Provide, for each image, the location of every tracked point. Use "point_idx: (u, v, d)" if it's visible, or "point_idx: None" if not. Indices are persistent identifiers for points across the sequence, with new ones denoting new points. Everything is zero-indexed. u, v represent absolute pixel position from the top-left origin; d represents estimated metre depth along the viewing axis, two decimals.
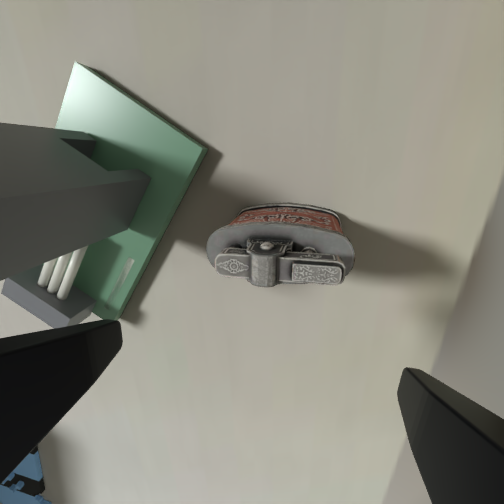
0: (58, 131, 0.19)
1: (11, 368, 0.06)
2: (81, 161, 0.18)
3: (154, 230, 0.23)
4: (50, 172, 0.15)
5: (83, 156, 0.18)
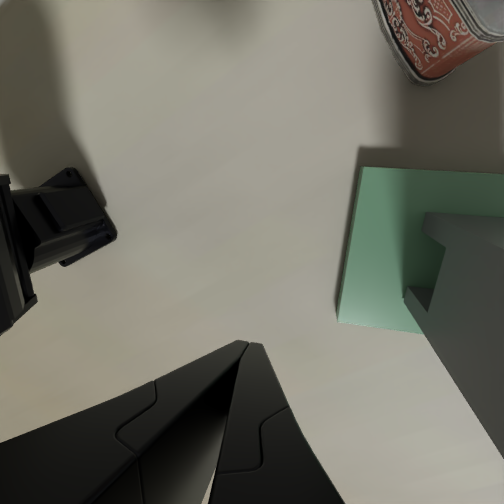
0: (418, 319, 0.17)
1: (204, 408, 0.05)
2: (448, 276, 0.14)
3: None
4: (494, 287, 0.11)
5: (439, 280, 0.15)
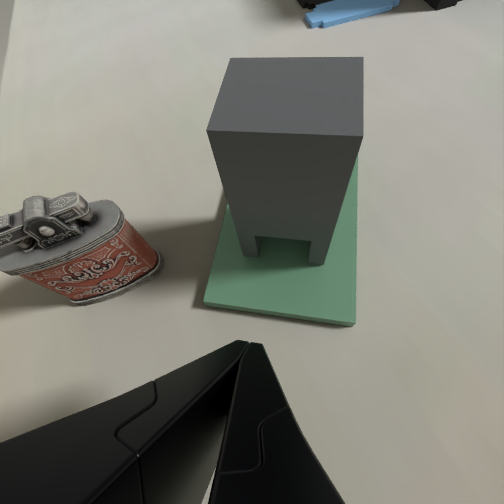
0: (324, 248, 0.19)
1: (204, 408, 0.05)
2: (271, 229, 0.18)
3: (229, 215, 0.24)
4: (251, 197, 0.15)
5: (279, 236, 0.19)
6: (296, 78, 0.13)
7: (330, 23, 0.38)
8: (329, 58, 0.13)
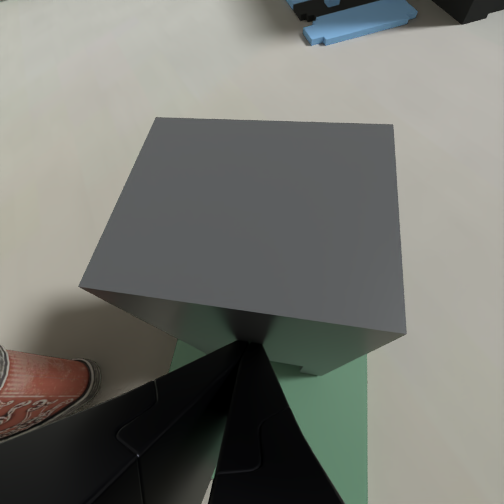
0: (321, 371, 0.13)
1: (204, 408, 0.05)
2: None
3: None
4: (201, 336, 0.09)
5: None
6: (267, 167, 0.07)
7: (333, 40, 0.31)
8: (328, 124, 0.07)
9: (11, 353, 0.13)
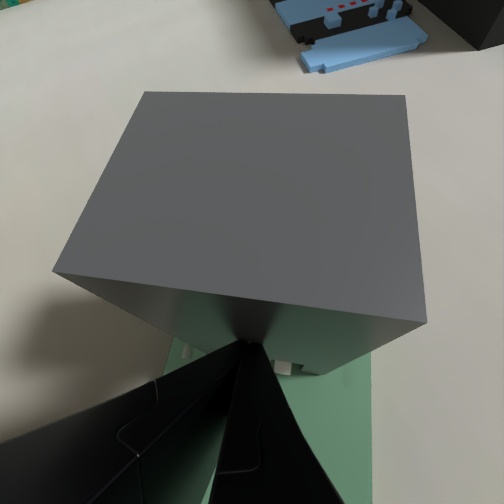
0: (324, 370, 0.12)
1: (204, 408, 0.05)
2: None
3: None
4: (195, 332, 0.09)
5: None
6: (265, 141, 0.06)
7: (334, 67, 0.28)
8: (333, 96, 0.06)
9: None
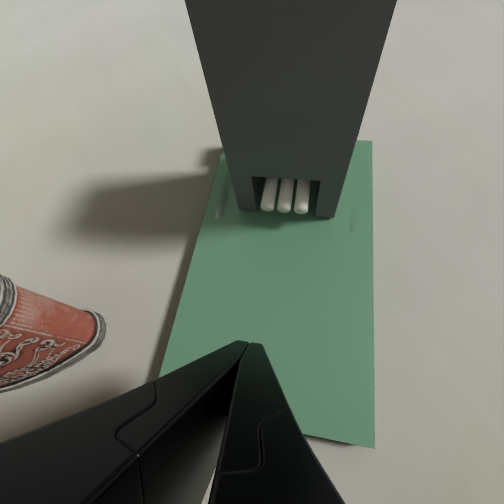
0: (335, 191, 0.16)
1: (204, 408, 0.05)
2: (271, 165, 0.15)
3: (196, 265, 0.18)
4: (245, 110, 0.12)
5: (282, 175, 0.15)
6: None
7: None
8: None
9: (18, 287, 0.13)
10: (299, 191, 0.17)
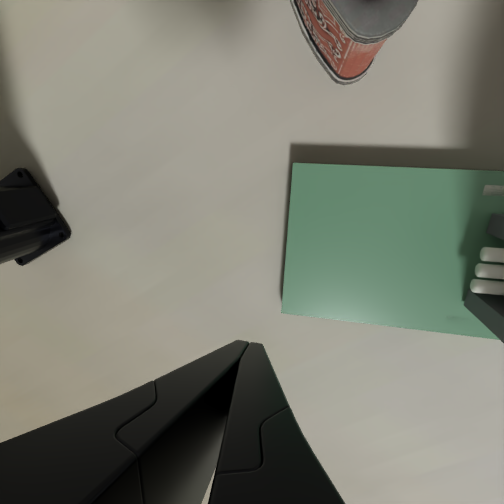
0: (488, 323, 0.16)
1: (204, 408, 0.05)
2: None
3: (421, 175, 0.17)
4: None
5: None
6: None
7: None
8: None
9: None
10: (499, 287, 0.16)
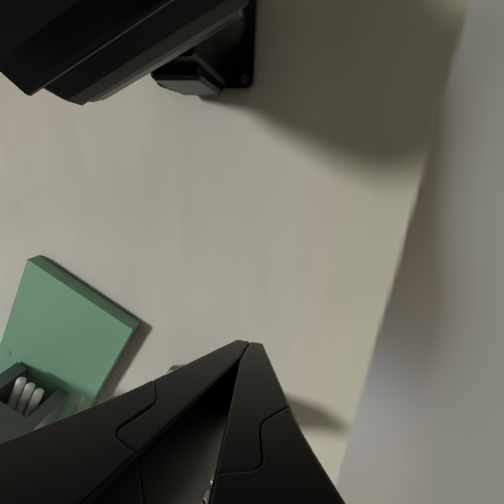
0: None
1: (204, 408, 0.05)
2: (5, 420, 0.25)
3: (99, 379, 0.28)
4: None
5: (8, 409, 0.26)
6: None
7: None
8: None
9: None
10: (17, 391, 0.27)
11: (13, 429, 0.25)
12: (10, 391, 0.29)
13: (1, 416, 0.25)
